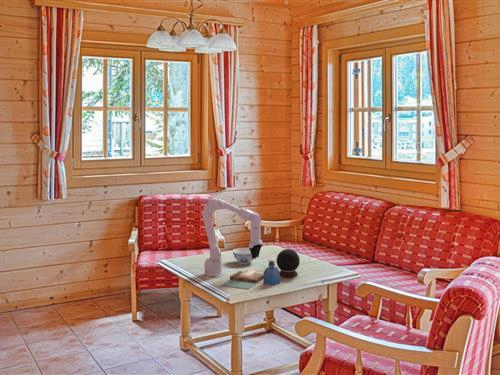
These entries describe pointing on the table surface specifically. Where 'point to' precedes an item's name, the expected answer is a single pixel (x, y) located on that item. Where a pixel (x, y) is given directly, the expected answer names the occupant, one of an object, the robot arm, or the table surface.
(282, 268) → the black ball on stand
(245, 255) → the chinaware
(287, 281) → the table surface
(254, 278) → the deck
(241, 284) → the mat
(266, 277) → the perfume bottle
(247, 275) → the tile
